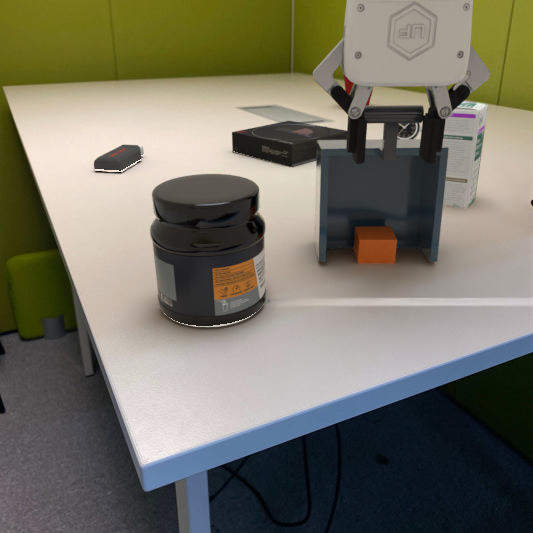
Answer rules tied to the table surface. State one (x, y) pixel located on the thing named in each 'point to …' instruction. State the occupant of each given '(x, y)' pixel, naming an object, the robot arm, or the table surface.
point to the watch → (408, 130)
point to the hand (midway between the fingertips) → (392, 158)
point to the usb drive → (119, 157)
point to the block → (374, 244)
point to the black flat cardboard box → (284, 141)
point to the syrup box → (463, 152)
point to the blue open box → (380, 187)
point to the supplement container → (208, 248)
